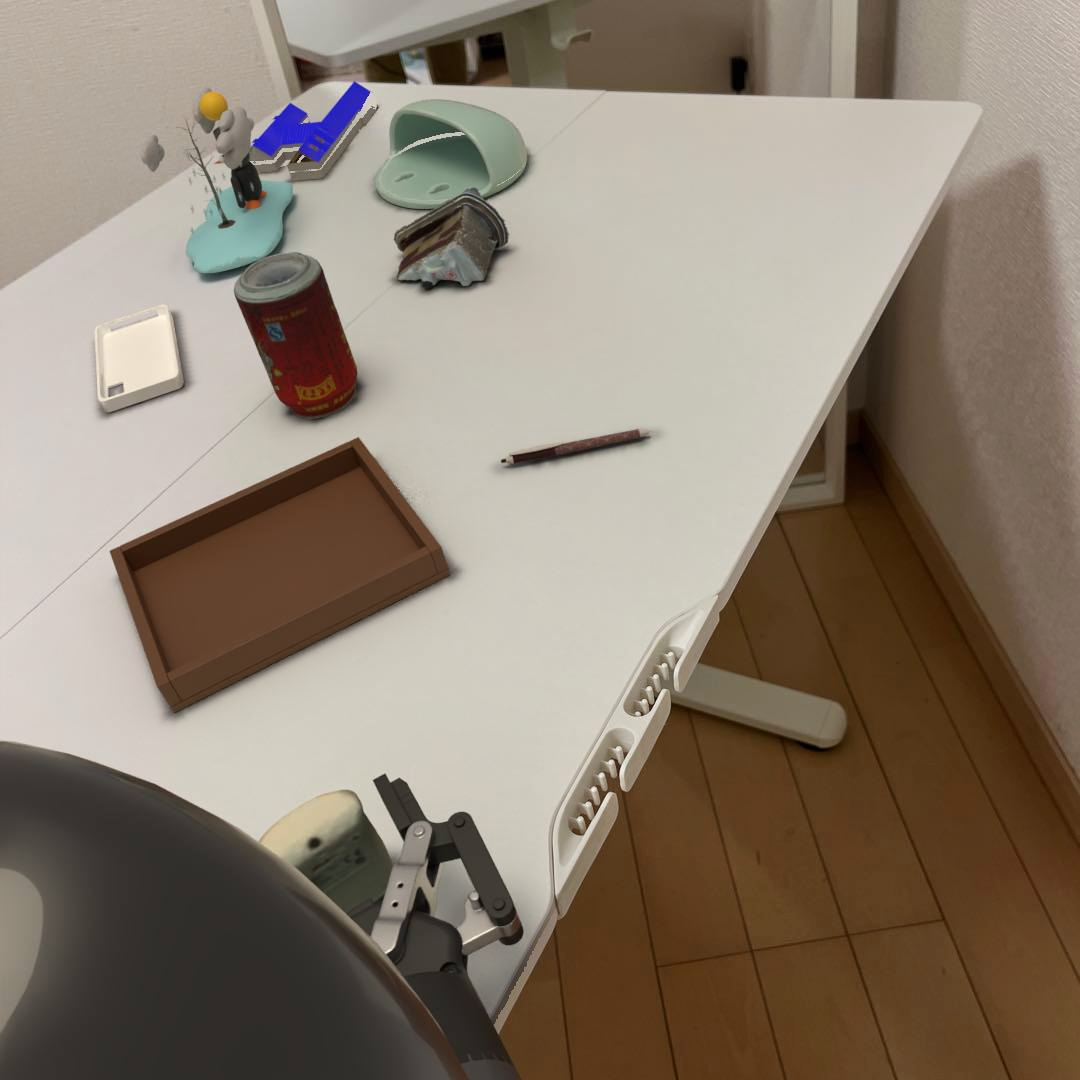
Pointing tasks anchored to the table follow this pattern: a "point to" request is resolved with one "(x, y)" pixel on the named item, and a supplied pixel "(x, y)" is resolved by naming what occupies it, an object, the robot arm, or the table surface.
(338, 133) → the building model
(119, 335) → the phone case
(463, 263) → the chocolate cake
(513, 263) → the table surface
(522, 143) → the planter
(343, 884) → the cream and green block
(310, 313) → the soda can
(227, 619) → the tray
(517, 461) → the pen
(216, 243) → the penguin figurine
